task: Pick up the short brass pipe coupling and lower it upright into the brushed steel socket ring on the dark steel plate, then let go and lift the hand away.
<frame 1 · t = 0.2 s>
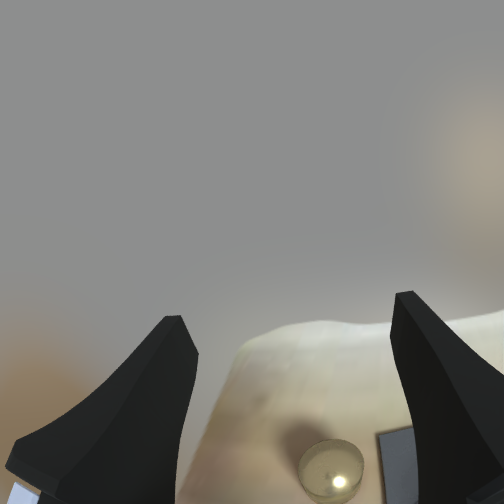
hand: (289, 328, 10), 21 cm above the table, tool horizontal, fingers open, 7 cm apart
socket plate: (464, 498, 14), on the table
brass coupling: (333, 482, 20), on the table
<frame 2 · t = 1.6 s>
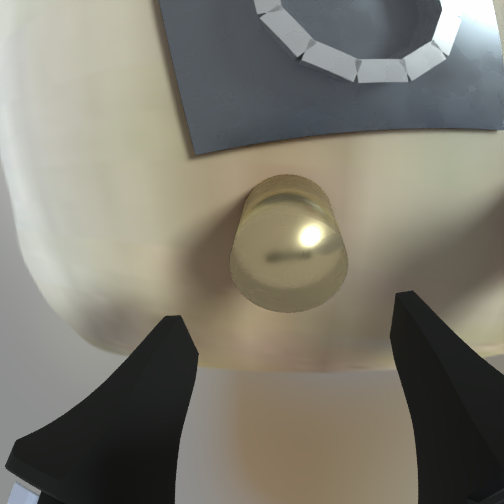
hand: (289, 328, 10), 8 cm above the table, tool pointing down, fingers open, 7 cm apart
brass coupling: (287, 217, 17), on the table
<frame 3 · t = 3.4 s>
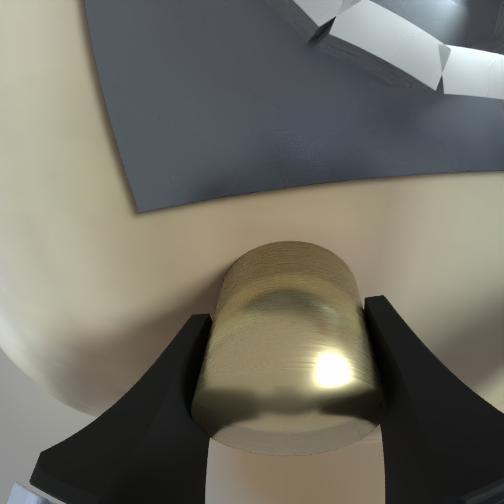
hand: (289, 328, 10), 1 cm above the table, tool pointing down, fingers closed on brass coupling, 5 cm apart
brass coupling: (289, 300, 11), on the table, touching gripper
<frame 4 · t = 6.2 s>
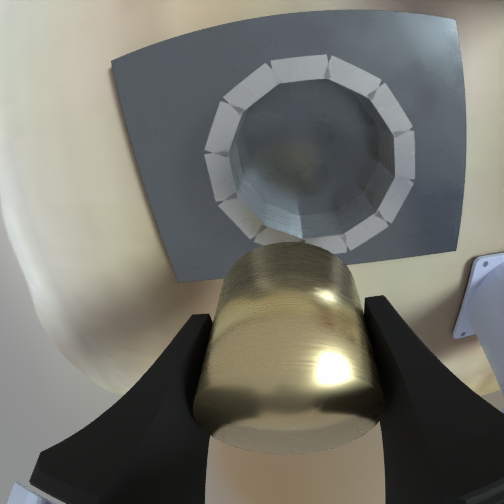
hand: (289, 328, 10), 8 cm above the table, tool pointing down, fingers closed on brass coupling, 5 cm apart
socket plate: (308, 147, 15), on the table
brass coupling: (288, 300, 11), point 7 cm above the table, touching gripper
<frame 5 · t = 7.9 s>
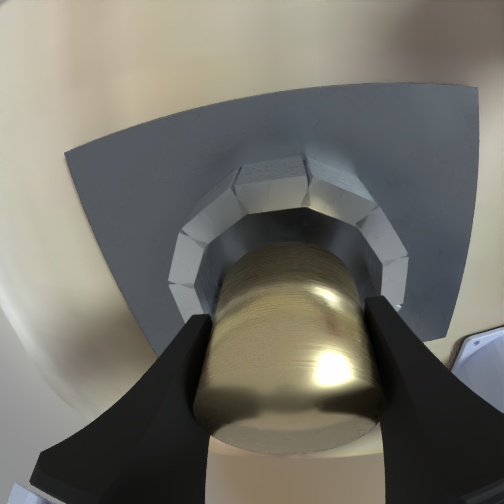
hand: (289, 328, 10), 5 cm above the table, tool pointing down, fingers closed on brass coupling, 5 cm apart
socket plate: (288, 252, 14), on the table
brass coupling: (289, 300, 11), point 3 cm above the table, touching gripper
when the fingers open (4 cm above the table, at t = 9.0 s): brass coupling drops 2 cm, resting on socket plate.
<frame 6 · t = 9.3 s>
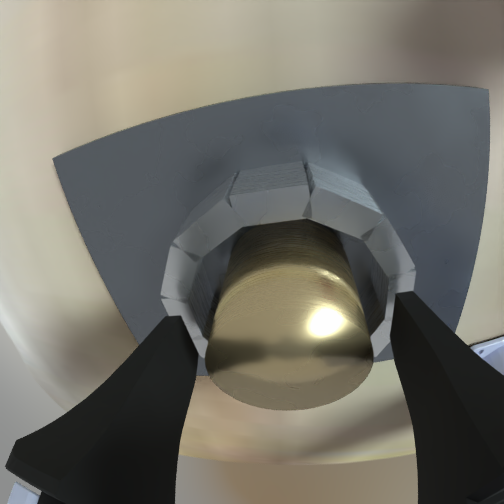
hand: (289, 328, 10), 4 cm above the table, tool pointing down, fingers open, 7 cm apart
socket plate: (288, 263, 13), on the table
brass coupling: (288, 272, 13), point 1 cm above the table, touching socket plate
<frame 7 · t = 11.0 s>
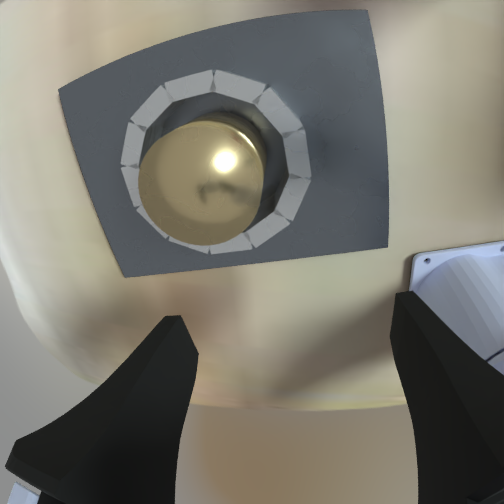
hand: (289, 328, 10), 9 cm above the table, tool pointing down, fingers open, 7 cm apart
socket plate: (221, 153, 16), on the table
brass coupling: (219, 157, 16), point 1 cm above the table, touching socket plate
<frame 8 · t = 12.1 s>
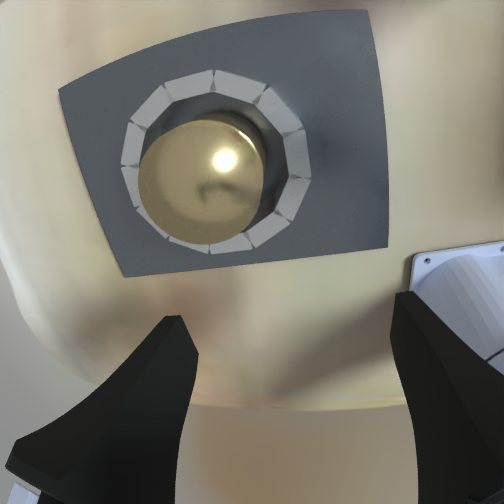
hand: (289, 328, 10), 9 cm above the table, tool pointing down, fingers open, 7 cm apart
socket plate: (221, 153, 16), on the table
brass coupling: (219, 157, 16), point 1 cm above the table, touching socket plate
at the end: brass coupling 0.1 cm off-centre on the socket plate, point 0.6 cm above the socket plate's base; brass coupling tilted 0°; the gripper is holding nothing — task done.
